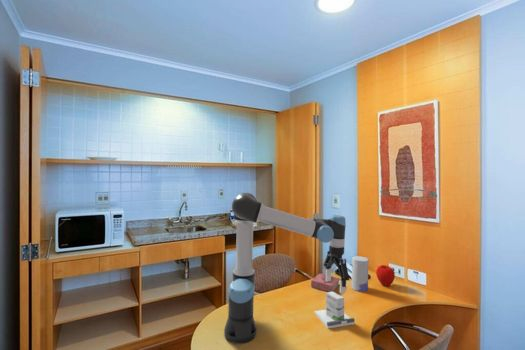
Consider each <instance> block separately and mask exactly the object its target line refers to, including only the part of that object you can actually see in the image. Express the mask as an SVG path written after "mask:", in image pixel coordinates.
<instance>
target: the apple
mask: <svg viewBox="0 0 525 350" xmlns="http://www.w3.org/2000/svg"><path fill="white" fill-rule="evenodd" d="M375 274H376V277H377V280H378V282H379V283H380V284H381V286H383V287H386V288H388V287H390V286H392V284H393V282H394V280H395V278H396V276H395V275H396V273H395V271H394V269H393V267H391V266H390V265H385V264H382V265H379V266H378V267H377V268H376V272H375Z"/></svg>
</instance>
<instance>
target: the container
mask: <svg viewBox="0 0 525 350" xmlns="http://www.w3.org/2000/svg"><path fill="white" fill-rule="evenodd" d="M351 261H352V262H351V266H352V267H351V289H352V290H354V291H357V292H361V293H364V292H368V290H369V266H370V265H369V258H368V257H365V256H360V255H355V256H352V260H351Z"/></svg>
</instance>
